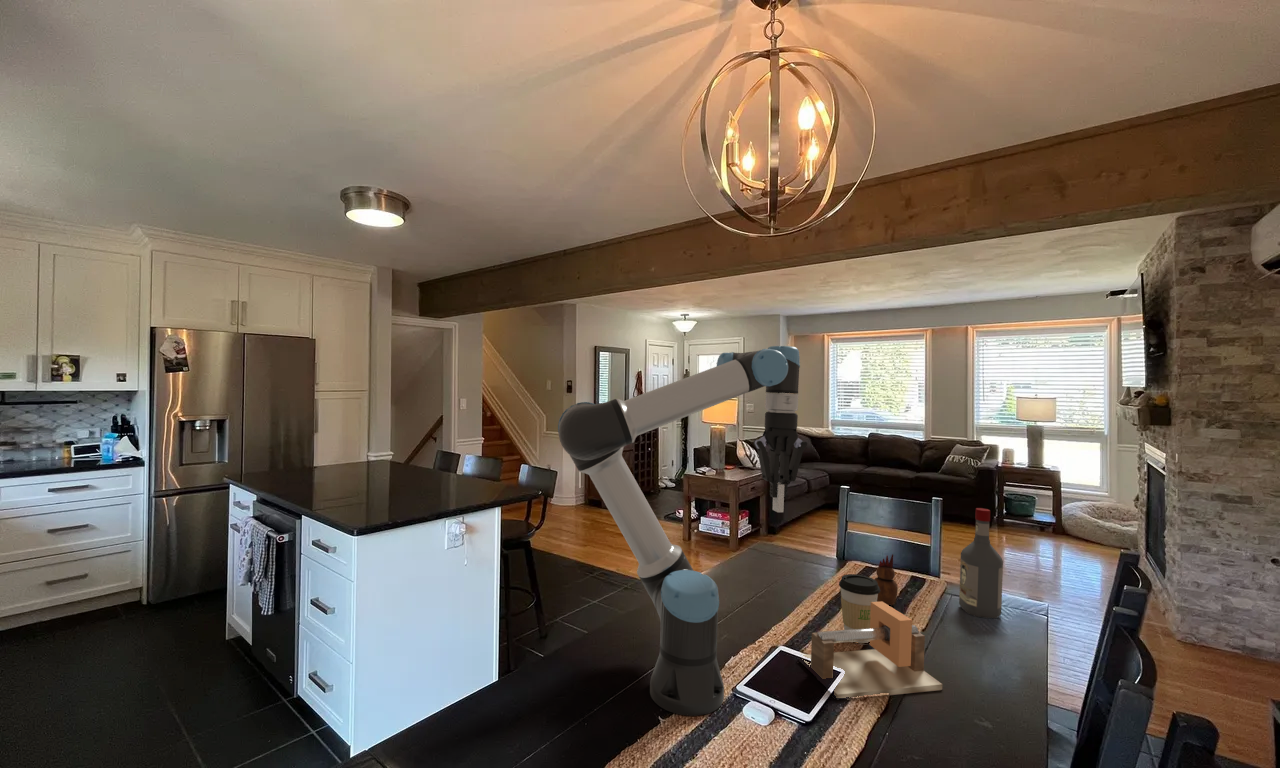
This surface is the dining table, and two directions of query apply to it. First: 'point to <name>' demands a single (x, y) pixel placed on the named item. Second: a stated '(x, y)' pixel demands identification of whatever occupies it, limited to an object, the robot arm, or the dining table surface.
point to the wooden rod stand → (872, 670)
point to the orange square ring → (892, 633)
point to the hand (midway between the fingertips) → (777, 510)
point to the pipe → (859, 634)
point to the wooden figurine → (886, 582)
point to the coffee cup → (857, 601)
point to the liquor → (981, 573)
